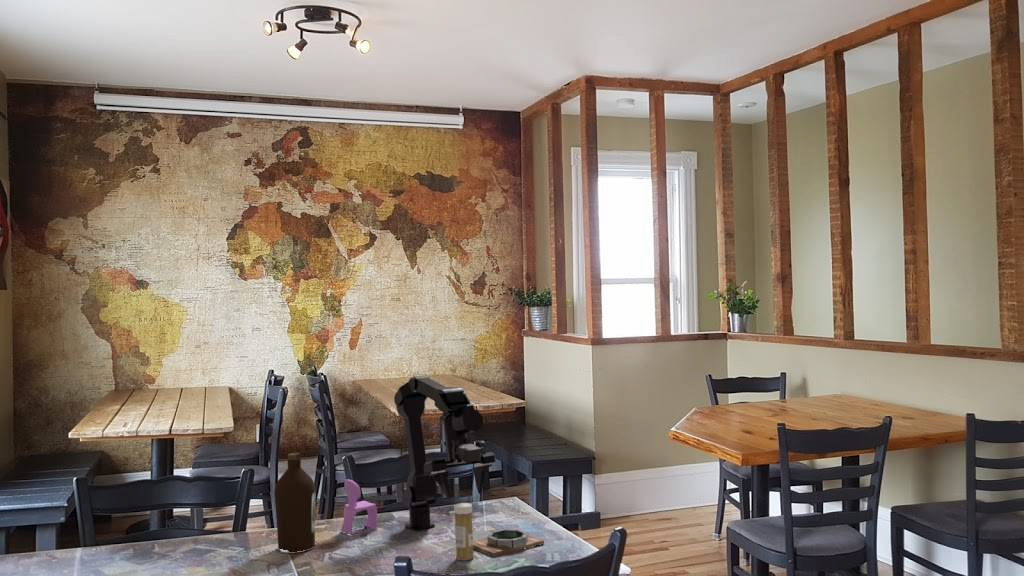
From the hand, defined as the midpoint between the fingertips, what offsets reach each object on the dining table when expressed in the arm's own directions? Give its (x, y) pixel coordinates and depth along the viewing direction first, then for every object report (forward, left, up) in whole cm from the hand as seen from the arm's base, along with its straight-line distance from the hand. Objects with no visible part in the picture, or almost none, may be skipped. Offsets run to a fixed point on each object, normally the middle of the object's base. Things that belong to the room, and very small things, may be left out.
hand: (464, 496), depth 219 cm
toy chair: (-35, -13, -14) cm, 40 cm away
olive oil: (-31, -33, -14) cm, 48 cm away
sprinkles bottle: (+6, -4, -14) cm, 16 cm away
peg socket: (+5, +10, -14) cm, 17 cm away
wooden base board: (+4, +10, -14) cm, 17 cm away
